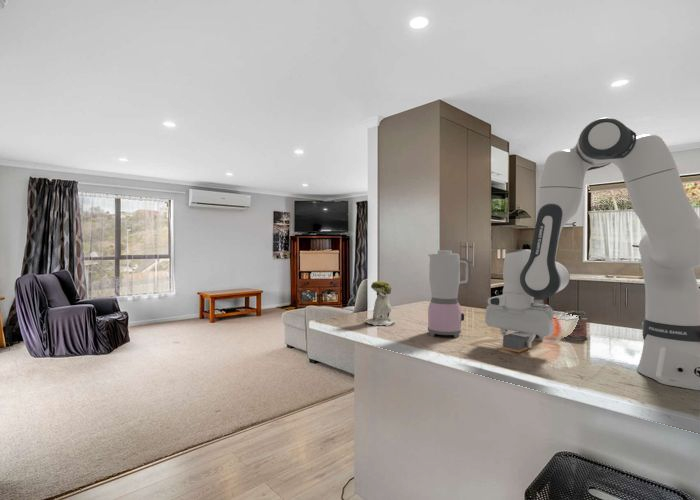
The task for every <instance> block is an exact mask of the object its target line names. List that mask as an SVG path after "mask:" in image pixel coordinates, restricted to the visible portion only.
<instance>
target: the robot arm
mask: <svg viewBox="0 0 700 500" xmlns="http://www.w3.org/2000/svg"><path fill="white" fill-rule="evenodd" d="M675 161H676V160H675V159H674V157H673V155H672V153H671V151H670V149H669V147H668V146H667V144H666V143H665V141H664V140H663V138H662V137H660V136H659V135H657V134H642V135H638V136H637V133H636V132H635V131H634V130H632V129H631V128H629V127H628V126H626V125H625V124H624V123H623V122H621V121H620V120H618V119H617V118H612V117H601V118H598V119H595V120H593V121H591V122H590V123H588V124H587V125H586V126H585V127H584V128H583V129H582V131H581V133H580V135H579V137H578V139H577V141H576V144H575V146H574V147H572V148H570V149H560V150H557V151H554V152H552V153H551V154H550V155H549V156H547V158H546V160H545V163H544V166H543V169H542V173H541V177H540V182H539V189H538V199H537V211H536V212H537V213H536V221H535V226H534V227H535V228H534V232H533V237H532V243H531V249H527V248H525V249H517V250H511V251H509V252H507V253H506V254H505V256H504V260H503V267H502V269H503V270H502V278H503V279H502V280H503V283H504V284H503V288H502V294H499V295H496V296H492V297H489V298H487V304H488V305H487V306H486V308H485V315H484V316H485V317H484V323H485V324H486V326H488V327H490V328H491V327H493V328H496V329H500V334H501V335H502V337H503V336H505V335H508V331H512V332H524V333H528V337H530V338H529V340H528V341H525V342H524V344H525V345H524V347H527V348H531V346H533V341H534V340H533V339H534V338H535V337H536V335H541V336H543V337H551V336H552V335H553V334H554V330H555V328H554V314H555V313H554V309H553V307H551V306H549V304H545V303H544V304H538V303H534V298H539V299H544V300H545V299H548V298H550V297H552V296H553V295H554V294H557V293H559V292H560V291H562V290H563V289H565V288H566V287H567V286H568V284H569V282H570V281H571V280H570V279H571V278H570V272H569V270H568V268H567V267H566V266H565V265H564V264H562V263H560V262H558V261H556V259H557V253H558V249H559V248H558V247H559V242H560V236H561V232H562V230H563V228H564V226H565V225H566V223H568V221H569V220H570V219H572V218H573V217H574V216H575V215H576V213H578V210H579V207H580V204H581V201H582V195H583V189H584V181H585V176H586V174H587V171H592V170H597V169H600V168H604V167H606V166H609V165H611V164H614V165H615V166H616V167H617V168H619V171H620V173H621V174H622V178H623V180H624V181H623V182H624V184H625V188H626V191H627V194H628V197H629V201H630V204H631V207H632V210H633V213H635V215H636V216H637V218H638V220H639V221H640V223H641V225H642V226H643V229H644V230H645V232H646V234H644V235H643V236H642V238H641V239H640V241H639V243H638V251H639V254H640V260H641V261H640V262H641V271H642V276H643V282H644V283H643V284H644V289H645V304H644V305H645V306H644V308H645V309H644V310H645V312H644V313H645V315H644V316H645V318H643V320H642V321H643V322H642V327H641V328H642V329H641V330H642V334H641V336H642V339H643V346H642V351H641V356H640V359H639V363H638V365H637V367H636V371H637V372H638V373H640V374H641V375H644V376H645V377H647V378H651V379H653V380H655V381H656V382H658V383H660V384H661V385H666V386H672V387H673V386H674V387H678V388H685V389H688V390H689V389H690V390H695V391H700V287H699V284H698V281H697V277H696V273H695V269H697V268H700V217H699V215H698V214H697V212H696V211H695V209H694V207H693V205H692V204H691V202H690V201H689V198H688V196H687V194H686V193H687V192H686V190H685V187H684V185H683V182H682V178H681V176H680V173H679V170H678V167H677V164H676V162H675ZM541 307H542V308H541Z"/></svg>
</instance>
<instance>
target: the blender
mask: <svg viewBox="0 0 700 500" xmlns="http://www.w3.org/2000/svg"><path fill="white" fill-rule="evenodd" d="M452 252H453V251H452V250H451V249H450V250H448V249H447V250H442V249H441V250H440V249H438V250H437V253H430V254H427V256H428V257H429V265H428V266H429V267H428V268H429V269H428V270H429V273H428V274H429V286H430V292H431V299H430V302H429V304H428V309H427V319H428V320H427V321H428V322H427V325H428V326H427V332H429V336H431V337H435V335H439V336H440V335H441V336H453V338H454V339H455V338H459V335H460V334H461V332H462V327H461V326H462V321H465V314H464V313H463V312H462V307H461V305H460V303H459V300H458V295H459V288H460V286H468V284H470V283H471V261H470V260H469V259H467V258H464V257H460V254H459V253H452ZM461 263H463V264H465V278H464V280H461Z"/></svg>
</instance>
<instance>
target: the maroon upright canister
mask: <svg viewBox="0 0 700 500" xmlns="http://www.w3.org/2000/svg"><path fill="white" fill-rule="evenodd" d="M566 313H568V314H566ZM570 314H572V316H573V315H577V316H576V317H578V318H579V320H578V322H577V325H576V327H575V329H574V330H573V332H572V333H571V334H570V335H568V336H567V337H564V338H563V340H573V341H575V340H576V341H587V340H588V336H587V335H588V333H587V331H588V330H587V329H588V318H586V317H582V316H586V312H585V311H575V310H571V311H565V315H569V316H570Z"/></svg>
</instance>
